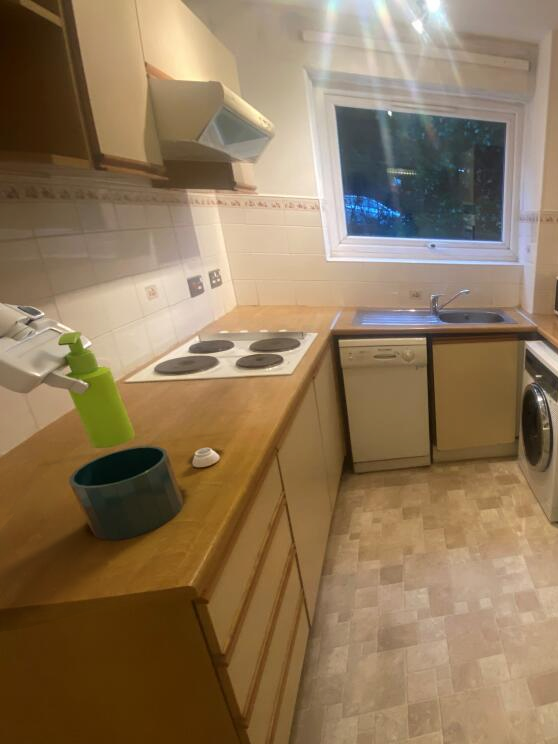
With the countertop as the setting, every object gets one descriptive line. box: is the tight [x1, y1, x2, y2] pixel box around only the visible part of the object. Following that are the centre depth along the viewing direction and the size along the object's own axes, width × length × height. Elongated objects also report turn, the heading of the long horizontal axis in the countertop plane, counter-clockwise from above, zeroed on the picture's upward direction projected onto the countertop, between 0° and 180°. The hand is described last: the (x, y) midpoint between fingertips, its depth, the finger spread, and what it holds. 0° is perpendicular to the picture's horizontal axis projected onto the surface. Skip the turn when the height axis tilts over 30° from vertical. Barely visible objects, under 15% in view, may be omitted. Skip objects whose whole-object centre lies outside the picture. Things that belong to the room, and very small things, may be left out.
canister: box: [68, 445, 184, 542], centre depth 79 cm, size 13×13×11 cm
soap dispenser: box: [58, 331, 136, 449], centre depth 74 cm, size 6×7×20 cm
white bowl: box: [191, 447, 220, 468], centre depth 97 cm, size 5×3×5 cm
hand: (96, 381), depth 74 cm, fingers closed on soap dispenser, 6 cm apart
